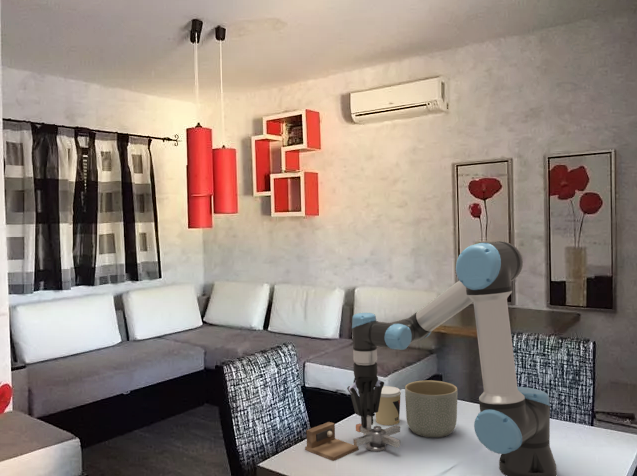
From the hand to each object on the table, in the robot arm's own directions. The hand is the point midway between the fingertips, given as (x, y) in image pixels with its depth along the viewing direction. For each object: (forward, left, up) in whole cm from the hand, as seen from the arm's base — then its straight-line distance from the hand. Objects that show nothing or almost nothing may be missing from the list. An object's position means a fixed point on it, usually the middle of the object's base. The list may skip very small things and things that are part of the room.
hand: (367, 435), depth 187 cm
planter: (-10, -21, -3) cm, 23 cm away
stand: (-1, +8, -2) cm, 9 cm away
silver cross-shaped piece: (-6, +2, -1) cm, 7 cm away
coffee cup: (+6, -18, -3) cm, 19 cm away
